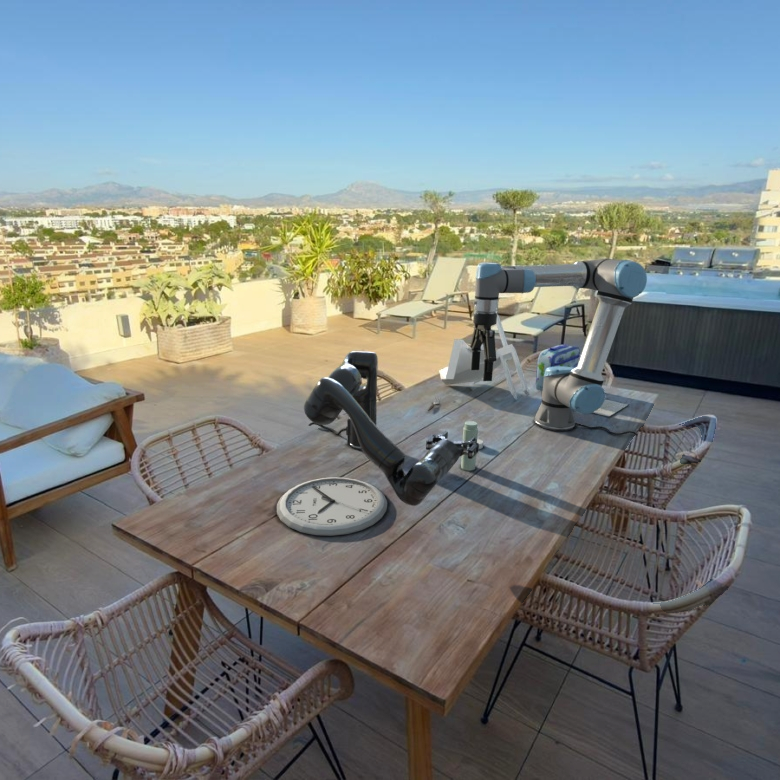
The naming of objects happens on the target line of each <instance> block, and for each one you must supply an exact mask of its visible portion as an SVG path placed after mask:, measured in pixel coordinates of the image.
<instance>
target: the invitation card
mask: <svg viewBox="0 0 780 780" xmlns="http://www.w3.org/2000/svg"><path fill="white" fill-rule="evenodd" d="M628 406H629V404H627V403H623V402H618V401H614V400H609V399H606V398H605V400H604V402H603V404H602V406H601V407H600V408H599V409H598V410H596V411H594V412H593V413H592V414H596V415H600V416H604V417H608V418H609V417H611V416H613V415H614V414H616V413H617V412H619V411H621V410H623V409H624V408H626V407H628Z"/></svg>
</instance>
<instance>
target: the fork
mask: <svg viewBox="0 0 780 780" xmlns="http://www.w3.org/2000/svg"><path fill="white" fill-rule="evenodd" d="M441 398H442V396H441V397H440V396H436V397H435V398H434V400H433V404H432V405H431V406H430V407H429V408H428V410H427V411H428V412H430V411H431V410H432V409H433V408H434V407H435V406H436V405H439V404H440V402H441Z"/></svg>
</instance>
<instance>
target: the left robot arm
mask: <svg viewBox="0 0 780 780" xmlns="http://www.w3.org/2000/svg"><path fill="white" fill-rule="evenodd" d="M378 372H379V357H378V354H377V353H376V352H375V351H360V350H359V351H358V350H353V351H349V352H348V353H347V354H346V355H345V357H344V359H343V360H342V362H341V363H340V364H339V365H338V366H337V367H336V368H335V369H333V371H331V373H330V374H329V375H328V377H327V376H325V377H321V378H320V379H319V380H318V381H317V383H316V384H315V385H314V387H313V388H312V389H311V391H310V393H309V394H308V395H307V397H306V398H305V401H304V403H303V411H304V414H305V416H306V417H307V418H308V420H309V421H311V422H310V423H309V424H308V426H309V427H311V426H312V425H316V426H318V427H320V428H323V429H325V430H327V431H330V432H332V433H334V435H336V436H339V435H341V434H342V433H343V432H345V436H347V439H346V440H347V446H350V447H351V448H353V449H355V450H361V451H362V452H363V454H364V456H366V458H367V459H368V460H369V461H370V462H371V463H372V464H373V465H374V466H376V468H377V469H378V470H379V471H381V472H382V473H383V476H384V477H385V479H386V480H387V482H388V484H389V485H390V486H391V488H392V490H393V491H394V493H395V495H396V496H397V497H398V499H399V500H400V501H402V503H404V504H405V505H408V506H412V507H415V506H419V505H420V504H421V503H422V502H423V501H424V500H425V498H426V497H427V496H428V495H429V494H430V493H431V491H432V490H433V489H434V487H435V486H436V485H437V484H438V482H440V481H441V479H442V478H443V477H444V476H445V475H446V474H447V473H449V471H450V470H452V468H453V466H454V465H455V464H456V463H457V462H458V460H459V459H460V457H462V455H467V456H468V458H469V459H472V458H473V457H474V456H475V455H476V456H477V454H479V450H480V449H479V443H477V439H478V438H477V439H476V437H472V438H471V440H470V441H468V442H466V441H463V440H461V441H453V440H450V439H448V436H449V431H447V430H446V431H444V432H441V433H440V434H438V435H436V434H434V433H433V434H430V436H429V437H428V438H427V440H425V442H426V443H425V449H426V451H427V452H426V453H425V454H424V456H423V457H422V458H421V459H420V460H418V461H417V462H415V463H414V464H413V465H412V467H411V468H410V469H408V471H407V472H406V473H405V471H404V464H405V462H406V454H405V453H404V451H402V450H401V448H399V447H398V446H397V445H396V444H395V443H394V442H393V441H392V440H391V439H389V437H387V436H386V435H385V433H384V432H383V431H382V430H381V429H380V428H378V427H377V415H378V414H377V405H378V403H377V402H378V401H377V399H378V396H377V395H378ZM363 380H366V382H365V383H363V384H362V382H363ZM342 411H344V412H345V413H346V415H347V416H348V418H347V419H346V421H347V422H346V424H347V425H346V427H344V428H341V429H340V430H339V431H336V429H334V428H331V427H328V426H327V425H330V424H332V423H333V422H334V421H336V420H337V419H338V416H339V415H340V414H341V412H342ZM462 445H463V447H462ZM467 445H469V448H467Z"/></svg>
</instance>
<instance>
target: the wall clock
mask: <svg viewBox="0 0 780 780" xmlns="http://www.w3.org/2000/svg"><path fill="white" fill-rule="evenodd" d="M387 509H388V500H387V498H386V496H385V494H384V493H383V492H382V491H381V490H380V489H379V488H377V487H376V486H374V485H372V484H371V483H369V482H365V481H362V480H359V479H355V478H349V477H338V476H337V477H335V476H333V477H332V476H331V477H322V478H317V479H312V480H307V481H305V482H302V483H299V484H297V485H295V486H293V487H292V488H290V489H288V490H287V491H286V492H285V493H284V494H283V495H281V496H280V498H279V499H278V502H277V503H276V515H277V517H278V518H279V520H280V521H281V522H282V523H283V524H285V525H286V526H287V527H288V528H290V529H293V530H295V531H297V532H299V533H303V534H308V535H312V536H327V537H328V536H329V537H331V536H332V537H333V536H342V535H350V534H352V533H356V532H361V531H363V530H366V529H368V528H369V527H372V526H373V525H375V524H376V523H378V522H379V521H380V520H381V519H382V518H383V517H384V516H385V514H386V512H387Z"/></svg>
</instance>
